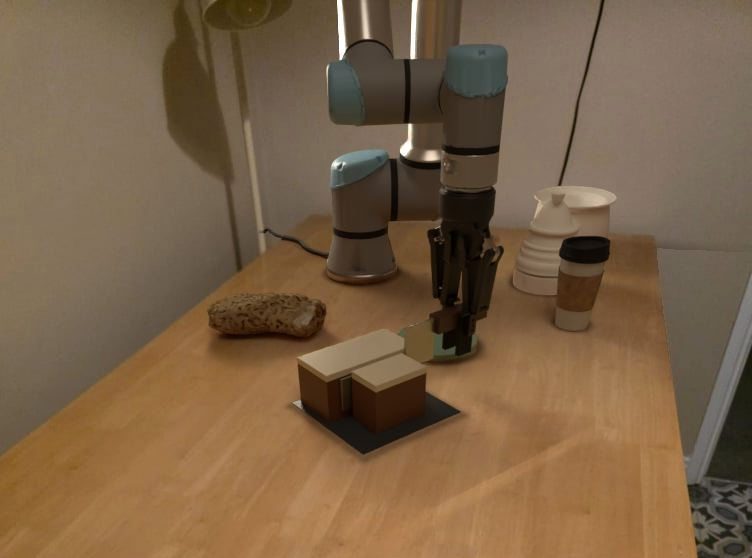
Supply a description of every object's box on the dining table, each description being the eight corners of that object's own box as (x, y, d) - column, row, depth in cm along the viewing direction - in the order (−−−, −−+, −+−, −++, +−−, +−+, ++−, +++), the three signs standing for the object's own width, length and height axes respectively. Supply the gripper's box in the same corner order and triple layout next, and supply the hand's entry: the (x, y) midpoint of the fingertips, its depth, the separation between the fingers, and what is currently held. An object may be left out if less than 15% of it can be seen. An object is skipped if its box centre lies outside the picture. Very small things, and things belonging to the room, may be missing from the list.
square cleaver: (346, 414, 95) (343, 350, 88) (337, 408, 96) (334, 345, 90) (482, 360, 107) (488, 301, 101) (473, 355, 108) (478, 296, 102)
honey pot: (577, 296, 133) (595, 200, 121) (512, 293, 135) (523, 198, 123) (573, 274, 142) (589, 182, 131) (512, 271, 144) (523, 181, 133)
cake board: (292, 406, 101) (291, 402, 100) (385, 371, 109) (385, 368, 109) (363, 458, 90) (363, 454, 89) (461, 415, 98) (461, 411, 97)
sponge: (328, 328, 126) (233, 295, 128) (331, 292, 120) (231, 259, 122) (300, 369, 118) (199, 334, 121) (301, 334, 112) (195, 297, 114)
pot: (538, 235, 164) (545, 181, 156) (611, 242, 159) (622, 187, 151) (518, 263, 148) (525, 204, 141) (597, 272, 143) (609, 212, 135)
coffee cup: (596, 335, 118) (614, 248, 109) (547, 332, 120) (561, 246, 110) (593, 316, 125) (610, 233, 115) (547, 314, 126) (560, 231, 117)
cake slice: (353, 418, 97) (351, 371, 92) (400, 399, 101) (401, 352, 96) (376, 434, 93) (375, 386, 88) (424, 413, 97) (426, 366, 93)
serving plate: (380, 343, 118) (380, 335, 117) (439, 322, 124) (439, 314, 123) (433, 371, 109) (433, 363, 108) (493, 347, 115) (494, 339, 114)
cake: (329, 423, 96) (326, 376, 91) (300, 403, 100) (296, 357, 96) (414, 389, 103) (415, 344, 98) (384, 371, 108) (384, 327, 103)
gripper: (409, 180, 92) (406, 340, 107) (489, 202, 82) (473, 374, 97) (449, 171, 95) (441, 328, 110) (530, 192, 86) (509, 360, 101)
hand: (456, 349), depth 104 cm, fingers closed on square cleaver, 2 cm apart
